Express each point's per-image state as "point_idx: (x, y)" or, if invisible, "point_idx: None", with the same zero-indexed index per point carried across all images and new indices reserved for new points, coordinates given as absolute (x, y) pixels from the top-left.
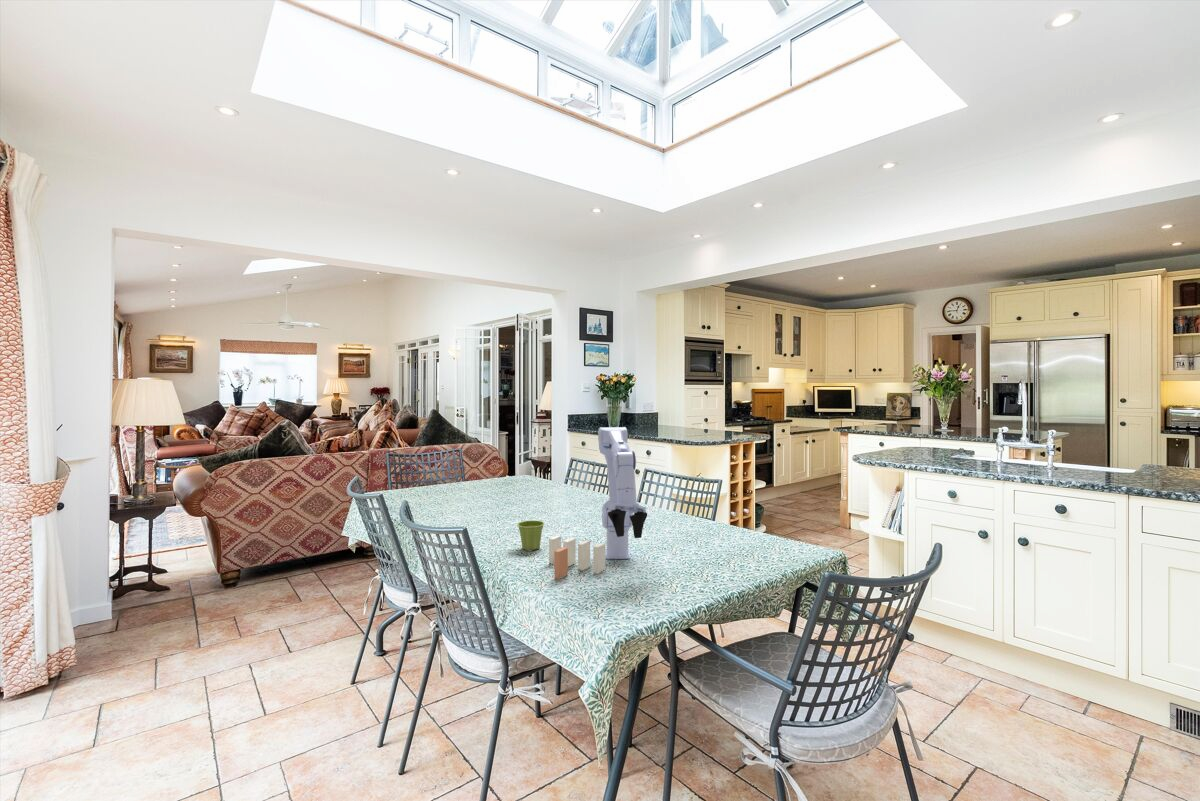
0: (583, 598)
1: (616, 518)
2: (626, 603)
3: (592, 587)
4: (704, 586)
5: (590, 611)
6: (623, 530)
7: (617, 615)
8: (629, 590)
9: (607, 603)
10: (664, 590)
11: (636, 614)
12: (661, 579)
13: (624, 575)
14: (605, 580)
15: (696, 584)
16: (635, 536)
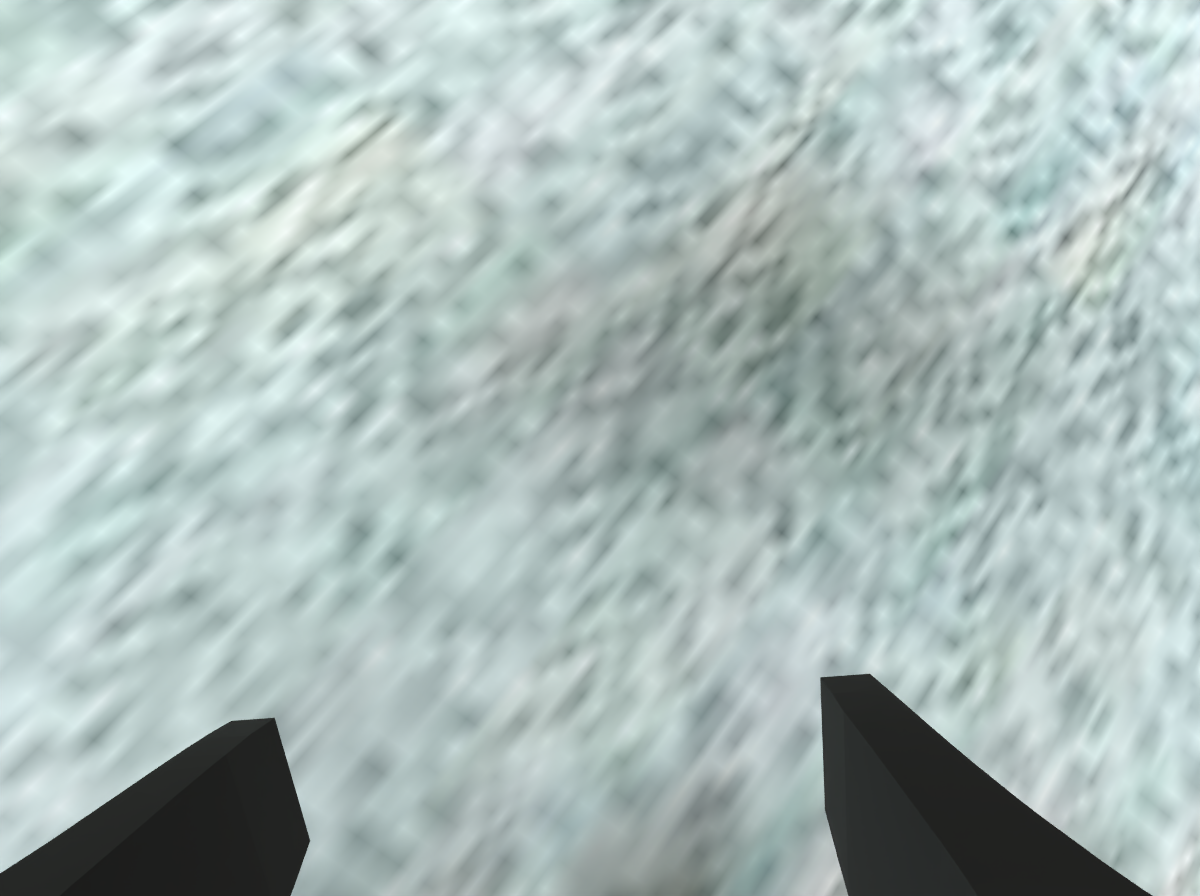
0: (1057, 491)
1: None
2: (871, 212)
3: (886, 638)
4: (62, 14)
5: (1135, 275)
6: (893, 733)
7: (1037, 106)
8: (689, 393)
9: (976, 304)
10: (450, 199)
11: (932, 30)
12: (261, 412)
13: (478, 719)
14: (704, 712)
15: (83, 98)
16: (287, 851)
